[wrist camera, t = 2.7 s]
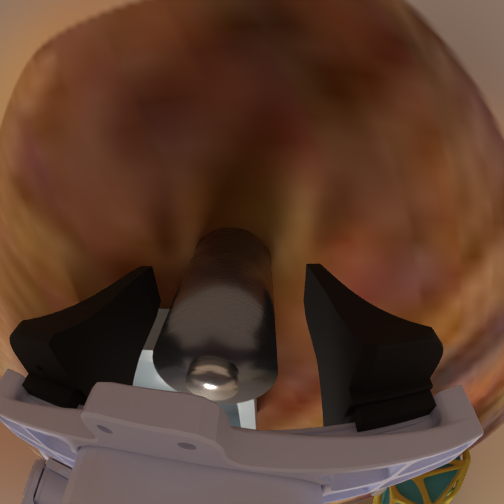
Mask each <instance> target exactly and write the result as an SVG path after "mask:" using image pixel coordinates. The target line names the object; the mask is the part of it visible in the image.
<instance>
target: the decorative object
mask: <svg viewBox="0 0 504 504" xmlns="http://www.w3.org/2000/svg"><path fill="white" fill-rule="evenodd" d="M469 464H470V454H469V450H468V448H467V449H466V450H465V451H463V460H462V461H461V459H460V455H458V456H457V457H456V458H455V459H453V460H452V461H451V462H449V463H447V464H445V465H442V466H440V467H438V468H436V469H433V470H431V471H429V472H426V473H424V474H421V475H419V476H416V477H414V478H411V479H409V480H406V481H404V482H401V483H398V484H395V485H392V486H390V487H387V489H386V490H385V491H384V493H381V494H380V495H376V496H375V497H374V500H373V504H449V503H450V501H451V500H452V499H453V497H454V496H455V495H456V494H457V492H458V491H459V489H460V487H461V485H462V483H463V480H464V478H465V475H466V473H467V470H468V467H469ZM455 483H456V485H455V487H454V488H453V486H454V484H455ZM446 496H447V497H446Z"/></svg>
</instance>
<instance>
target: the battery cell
mask: <svg viewBox="0 0 504 504" xmlns="http://www.w3.org/2000/svg"><path fill="white" fill-rule="evenodd" d="M152 359H153V364H154V367H155V369H156V371H157V373H158V374H159V376H160V377H161V378H162V379H163V380H164V382H166V383H167V384H168V385H169V386H170V387H172V388H173V389H174V390H176V391H178V392H185V393H189V394H194V395H199V396H203V397H205V398H207V399H209V400H211V401H213V402H215V403H217V404H236V403H242V402H246V401H250V400H253V399H255V398H257V397H260V396H261V395H263V394H265V393H266V392H267V391H268V390H269V389H270V388H271V387H272V386H273V385H274V383H275V381H276V379H277V375H278V365H277V348H276V332H275V316H274V301H273V287H272V273H271V260H270V255H269V252H268V250H267V248H266V246H265V245H264V243H263V242H262V241H261V240H260V239H259V238H258V237H257V236H255V235H254V234H252V233H250V232H248V231H246V230H242V229H238V228H223V229H218V230H216V231H213V232H211V233H209V234H208V235H206V236H205V237H204V238H203V239H202V240H201V241H200V243H199V244H198V246H197V248H196V250H195V252H194V254H193V256H192V259H191V261H190V263H189V265H188V268H187V270H186V272H185V274H184V277H183V279H182V281H181V284H180V286H179V288H178V291H177V293H176V295H175V298H174V300H173V302H172V305H171V307H170V310H169V312H168V314H167V317H166V319H165V322H164V324H163V327H162V329H161V332H160V334H159V337H158V339H157V342H156V344H155V347H154V350H153V355H152Z"/></svg>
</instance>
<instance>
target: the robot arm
mask: <svg viewBox="0 0 504 504" xmlns="http://www.w3.org/2000/svg"><path fill="white" fill-rule="evenodd" d="M160 302H161V301H160V297H159V293H158V289H157V285H156V281H155V276H154V272H153V268H152V266H141V267H139V268H137V269H135V270H133V271H132V272H130V273H129V274H127V275H125V276H124V277H122V278H121V279H119V280H118V281H116V282H115V283H113V284H112V285H110V286H109V287H107V288H105V289H104V290H102V291H100V292H99V293H97V294H96V295H94V296H92V297H90V298H88V299H86V300H84V301H82V302H80V303H78V304H76V305H74V306H71V307H69V308H66V309H64V310H62V311H59V312H56V313H53V314H49V315H46V316H42V317H38V318H33V319H29V320H23V321H22V322H21V323H20V324H19V325H18V326H17V327H16V329H15V330H14V331H13V332H12V334H11V335H10V344H11V347H12V349H13V351H14V353H15V354H16V356H17V357H18V359H19V360H20V362H21V363H22V365H23V366H24V368H25V369H26V370H27V372H28V373H29V374H28V376H27V377H26V378H25V377H24V376H23V375H21V374H20V373H17V372H15V371H13V370H11V369H7V370H6V372H5V373H4V375H3V377H2V378H1V380H0V420H1V422H2V423H4V424H5V425H6V426H7V427H8V428H9V429H10V430H11V431H12V432H13V433H14V434H15V435H16V436H18V437H19V438H21V439H23V440H24V441H26V442H28V443H29V444H31V445H32V446H34V447H36V448H38V449H39V451H40V453H41V454H42V455H43V456H44V457H45V458H46V459H47V460H48V461H47V464H45V463H46V460H44V459H43V458H41V459H37V460H35V462H34V464H33V466H32V469H31V471H30V474H29V477H28V480H27V482H26V486H25V489H24V497H23V501H22V504H325V503H330V502H335V501H340V500H344V499H348V498H352V497H356V496H360V495H364V494H367V493H371V492H374V491H377V490H380V489H384V488H387V487H390V486H392V485H395V484H398V483H401V482H404V481H406V480H409V479H411V478H414V477H416V476H419V475H421V474H424V473H426V472H429V471H431V470H433V469H436V468H438V467H440V466H442V465H445V464H447V463H449V462H451V461H452V460H453V459H455V458H456V457H457V456H458V455H460V454H461V453H462V452H463V451H465V450H466V449H467V448H468V447H469V446H471V445H472V444H473V443H474V442H475V441H476V440H477V439H479V438H480V437H481V436H482V435H483V433H484V431H483V429H482V427H481V424H480V422H479V420H478V418H477V415H476V413H475V411H474V409H473V407H472V405H471V403H470V401H469V399H468V397H467V395H466V393H465V391H464V389H463V387H462V385H457V386H454V387H452V388H449V389H446V390H443V391H440V392H438V393H437V394H435V395H434V396H432V394H431V391H430V389H432V387H433V384H432V382H431V380H430V377H431V375H432V374H433V372H434V370H435V369H436V367H437V365H438V364H439V362H440V359H441V357H442V355H443V346H442V343H441V341H440V340H439V338H438V336H437V335H436V333H435V332H434V330H433V329H432V327H428V326H425V325H421V324H417V323H413V322H410V321H407V320H405V319H402V318H399V317H397V316H394V315H392V314H389V313H387V312H385V311H383V310H381V309H379V308H377V307H375V306H374V305H372V304H370V303H369V302H367V301H365V300H364V299H362V298H361V297H359V296H358V295H356V294H355V293H354V292H352V291H351V290H350V289H348V288H347V287H346V286H345V285H343V284H342V283H341V282H340V281H339V280H337V279H336V278H335V277H334V276H333V275H332V274H331V273H330V272H329V271H327V270H326V269H325V268H324V267H323V266H322V265H321V264H307V265H306V279H305V291H304V307H305V315H306V320H307V324H308V328H309V332H310V335H311V339H312V343H313V346H314V350H315V354H316V358H317V363H318V370H319V378H320V387H321V397H322V409H323V425H324V427H316V428H305V429H291V430H255V429H249V428H242V427H236V426H231V425H229V422H228V417H227V414H226V413H225V412H224V410H223V409H222V408H221V407H220V405H218V404H217V403H215V402H213V401H211V400H209V399H207V398H205V397H203V396H199V395H194V394H189V393H185V392H175V391H166V390H158V389H150V388H143V387H137V386H133V381H134V376H135V372H136V369H137V365H138V361H139V358H140V355H141V352H142V350H143V348H144V345H145V343H146V341H147V338H148V336H149V334H150V331H151V329H152V327H153V324H154V322H155V320H156V317H157V313H158V310H159V306H160ZM34 498H35V499H34Z"/></svg>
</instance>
